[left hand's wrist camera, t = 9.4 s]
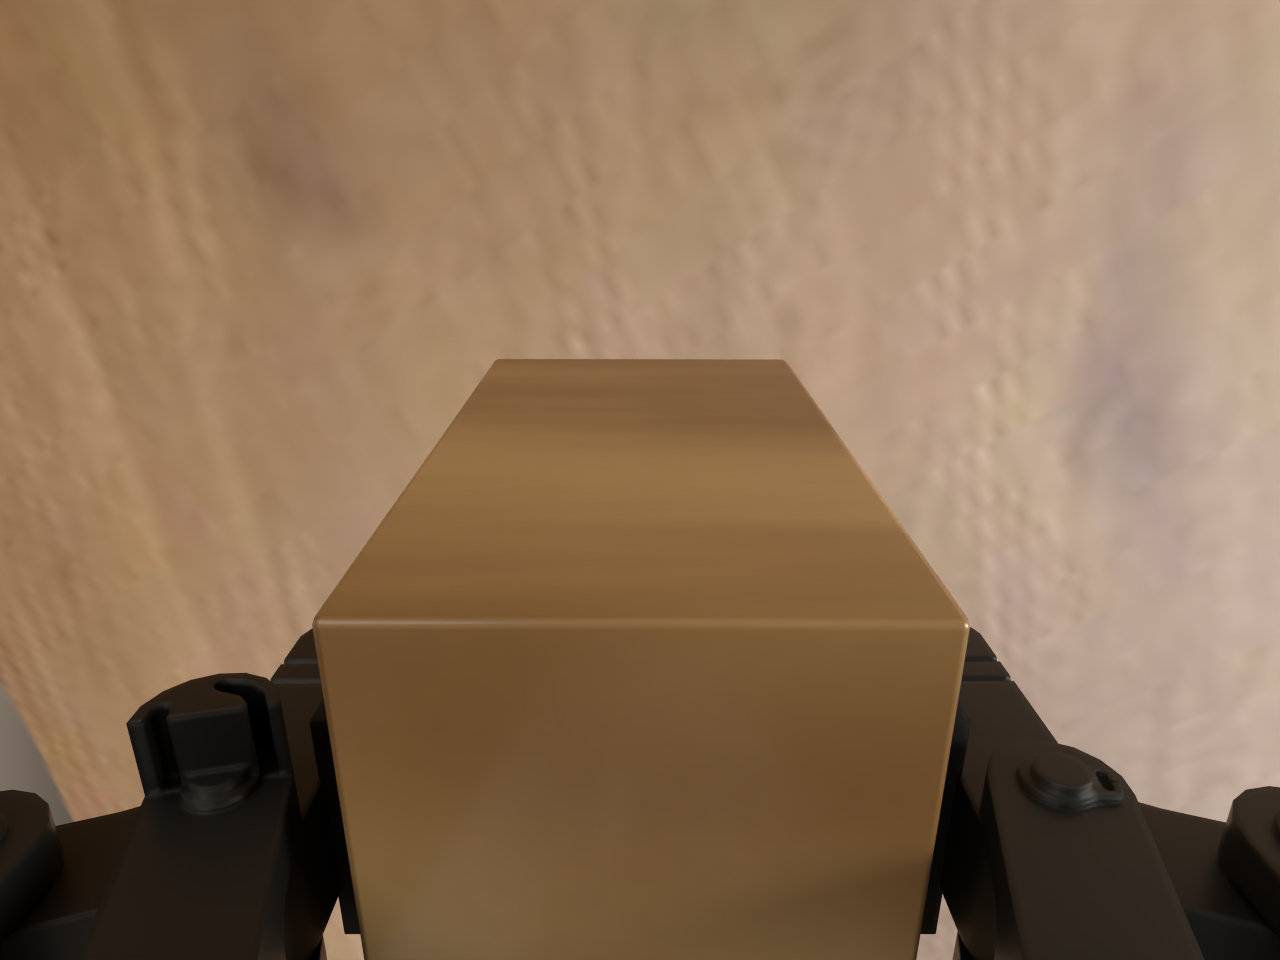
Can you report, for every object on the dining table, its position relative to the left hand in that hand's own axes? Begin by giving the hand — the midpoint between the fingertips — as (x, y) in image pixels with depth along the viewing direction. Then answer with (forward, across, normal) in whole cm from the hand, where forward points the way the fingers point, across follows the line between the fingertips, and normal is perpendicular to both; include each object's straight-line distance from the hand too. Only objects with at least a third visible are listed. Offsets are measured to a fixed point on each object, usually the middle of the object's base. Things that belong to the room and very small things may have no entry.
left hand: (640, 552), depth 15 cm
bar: (+1, 0, -9) cm, 9 cm away
